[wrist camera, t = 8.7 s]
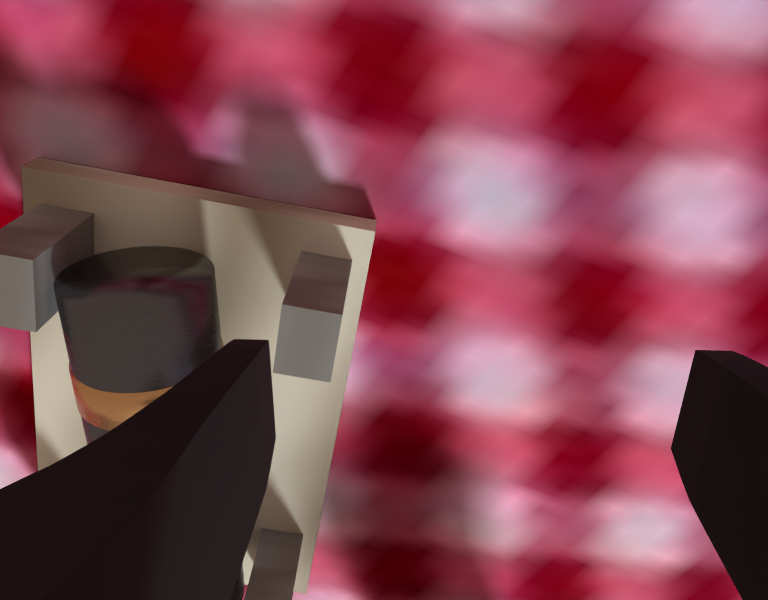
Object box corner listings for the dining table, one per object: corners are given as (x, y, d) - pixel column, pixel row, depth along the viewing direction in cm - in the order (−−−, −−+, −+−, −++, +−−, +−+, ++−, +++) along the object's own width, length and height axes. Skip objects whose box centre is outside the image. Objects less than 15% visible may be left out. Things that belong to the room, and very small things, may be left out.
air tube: (256, 548, 25) (231, 649, 21) (145, 545, 25) (102, 645, 21) (231, 247, 19) (192, 312, 16) (90, 243, 19) (19, 307, 16)
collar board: (376, 219, 20) (369, 282, 16) (309, 572, 26) (292, 680, 22) (38, 157, 19) (-58, 205, 15) (55, 533, 26) (-10, 636, 22)
